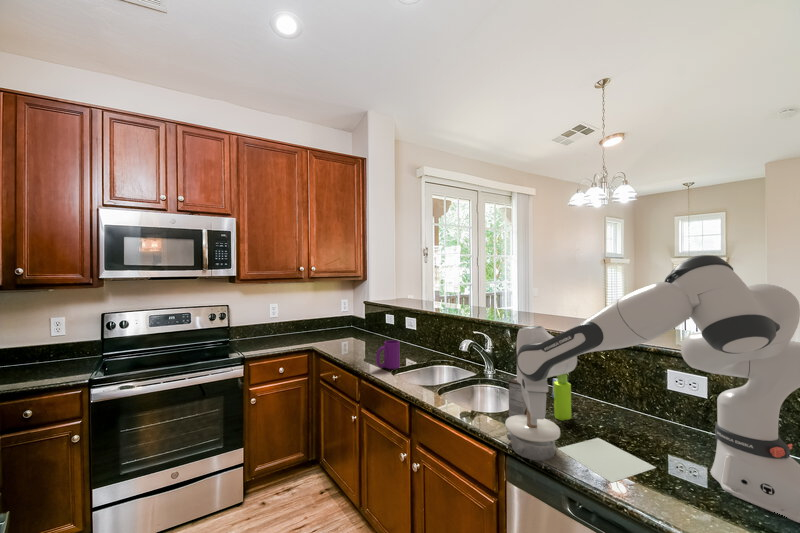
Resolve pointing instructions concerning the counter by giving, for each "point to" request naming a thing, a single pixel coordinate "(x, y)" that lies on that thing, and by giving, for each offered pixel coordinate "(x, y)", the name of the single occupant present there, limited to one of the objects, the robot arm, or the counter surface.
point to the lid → (532, 428)
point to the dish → (532, 448)
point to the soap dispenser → (562, 398)
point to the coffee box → (516, 399)
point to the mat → (606, 459)
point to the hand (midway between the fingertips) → (532, 421)
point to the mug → (390, 354)
